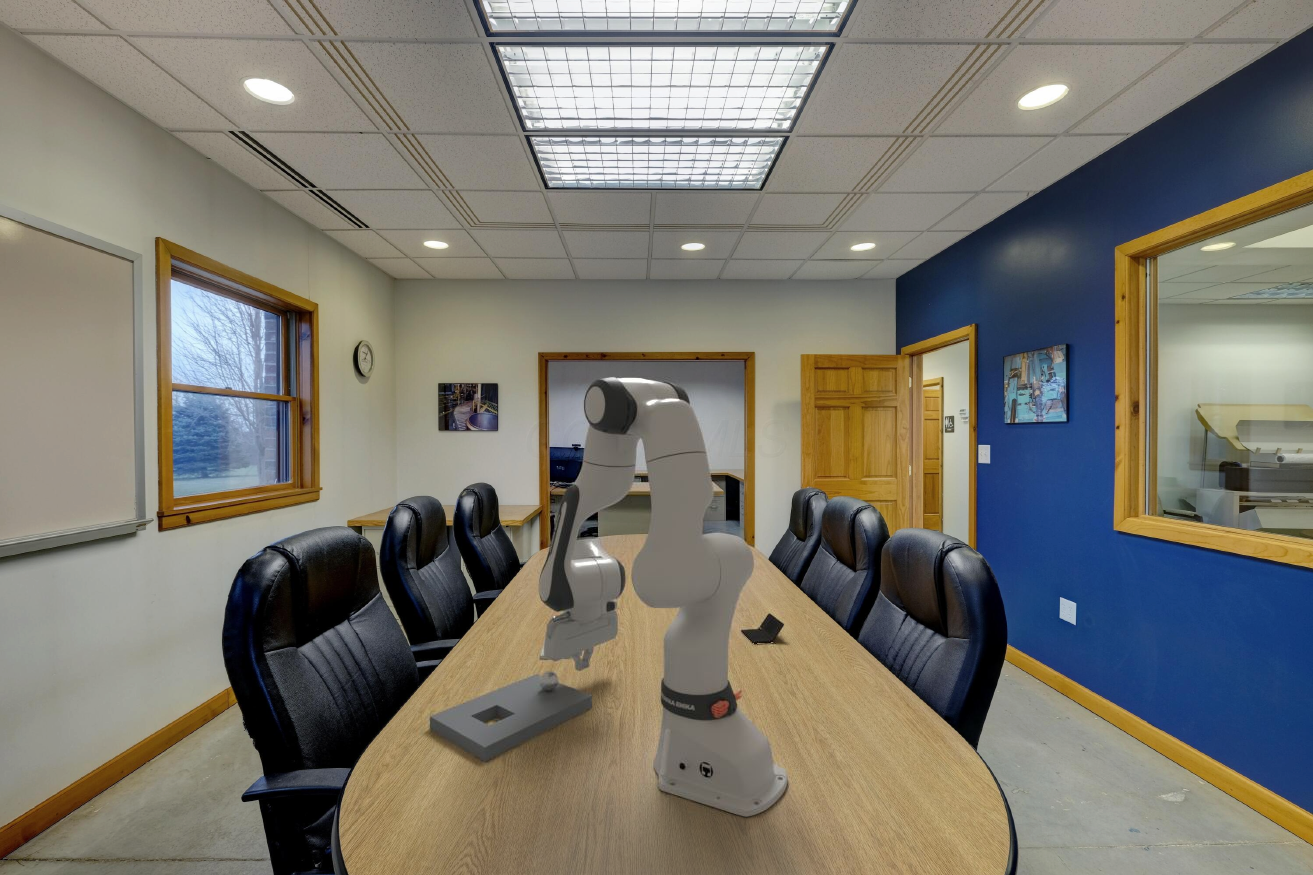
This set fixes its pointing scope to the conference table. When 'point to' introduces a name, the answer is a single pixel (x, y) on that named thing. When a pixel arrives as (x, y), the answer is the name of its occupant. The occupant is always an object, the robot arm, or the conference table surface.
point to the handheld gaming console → (765, 630)
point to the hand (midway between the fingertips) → (582, 668)
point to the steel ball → (548, 681)
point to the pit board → (508, 716)
